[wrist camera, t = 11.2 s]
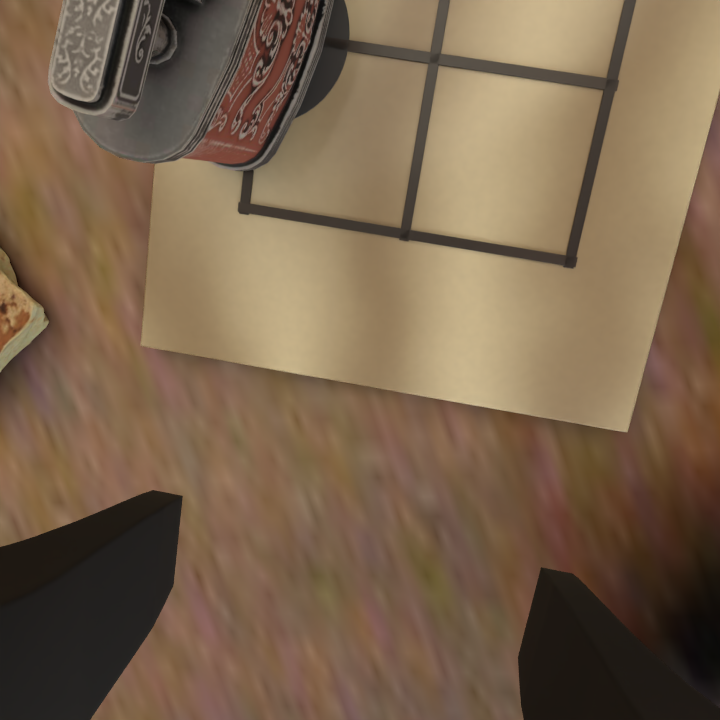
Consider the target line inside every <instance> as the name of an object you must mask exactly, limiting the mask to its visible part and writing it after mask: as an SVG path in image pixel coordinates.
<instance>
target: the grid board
mask: <svg viewBox="0 0 720 720" xmlns="http://www.w3.org/2000/svg"><path fill="white" fill-rule="evenodd" d="M719 92H720V0H334V3H333V7H332V11H331V15H330V19H329V23H328V27H327V32H326V36H325V40H324V44H323V48H322V52H321V55H320V57H319V60H318V62H317V65H316V68H315V70H314V73H313V75H312V78H311V81H310V83H309V86H308V88H307V91H306V94H305V96H304V99H303V101H302V104H301V106H300V108H299V110H298V112H297V114H296V116H295V118H294V120H293V122H292V124H291V125H290V127H289V129H288V131H287V133H286V135H285V137H284V139H283V141H282V143H281V145H280V146H279V148H278V150H277V152H276V154H275V155H274V156H273V157H272V159H271V160H270V161H269V162H268V163H267V164H265V165H263V166H261V167H259V168H257V169H255V170H248V171H233V170H228V169H223V168H218V167H217V166H215V165H213V164H211V163H209V162H208V161H202V160H193V159H185V158H181V159H179V160H177V161H172V162H165V163H158V164H154V176H153V189H152V202H151V216H150V229H149V242H148V255H147V269H146V282H145V295H144V308H143V322H142V335H141V346H143V347H149V348H155V349H160V350H166V351H171V352H177V353H183V354H188V355H194V356H199V357H205V358H211V359H216V360H222V361H227V362H233V363H239V364H244V365H250V366H255V367H261V368H267V369H272V370H278V371H284V372H289V373H295V374H300V375H306V376H312V377H317V378H323V379H328V380H334V381H340V382H345V383H351V384H356V385H362V386H368V387H373V388H379V389H384V390H390V391H396V392H401V393H407V394H413V395H418V396H424V397H429V398H435V399H441V400H446V401H452V402H457V403H463V404H469V405H474V406H480V407H485V408H491V409H497V410H502V411H508V412H514V413H519V414H525V415H530V416H536V417H542V418H547V419H553V420H558V421H564V422H570V423H575V424H581V425H586V426H592V427H598V428H603V429H609V430H614V431H620V432H627V431H628V429H629V425H630V421H631V418H632V414H633V410H634V406H635V403H636V399H637V395H638V392H639V388H640V384H641V381H642V377H643V373H644V369H645V366H646V362H647V358H648V355H649V351H650V347H651V344H652V340H653V336H654V333H655V329H656V325H657V321H658V318H659V314H660V310H661V307H662V303H663V299H664V296H665V292H666V288H667V285H668V281H669V277H670V273H671V270H672V266H673V262H674V259H675V255H676V251H677V248H678V244H679V240H680V236H681V233H682V229H683V225H684V222H685V218H686V214H687V211H688V207H689V203H690V200H691V196H692V192H693V188H694V185H695V181H696V177H697V174H698V170H699V166H700V163H701V159H702V155H703V151H704V148H705V144H706V140H707V137H708V133H709V129H710V126H711V122H712V118H713V115H714V111H715V107H716V103H717V100H718V96H719Z"/></svg>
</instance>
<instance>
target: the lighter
mask: <svg viewBox="0 0 720 720" xmlns="http://www.w3.org/2000/svg"><path fill="white" fill-rule="evenodd" d="M333 3H334V0H63V4H62V9H61V14H60V18H59V23H58V28H57V33H56V37H55V42H54V47H53V51H52V56H51V61H50V66H49V74H48V84H49V88H50V92H51V94H52V95H53V97H54V98H55V99H56V100H57V101H58V102H59V103H60V104H62V105H64V106H66V107H68V108H70V109H72V110H73V111H74V113H75V115H76V117H77V119H78V121H79V123H80V125H81V127H82V129H83V131H84V132H85V133H86V134H87V135H88V136H89V137H90V138H91V139H92V140H93V141H94V142H95V143H96V144H97V145H98V146H99V147H101V148H103V149H104V150H106V151H108V152H110V153H112V154H113V155H115V156H117V157H119V158H122V159H127V160H132V161H137V162H143V163H154V164H158V163H165V162H172V161H177V160H179V159H181V158H185V159H193V160H202V161H208V162H209V163H211V164H213V165H215V166H217V167H218V168H223V169H228V170H233V171H248V170H255V169H257V168H259V167H261V166H263V165H265V164H267V163H268V162H269V161H270V160H271V159H272V157H273V156H274V155H275V154H276V152H277V150H278V148H279V146H280V145H281V143H282V141H283V139H284V137H285V135H286V133H287V131H288V129H289V127H290V125H291V124H292V122H293V120H294V118H295V116H296V114H297V112H298V110H299V108H300V106H301V104H302V101H303V99H304V96H305V94H306V91H307V88H308V86H309V83H310V81H311V78H312V75H313V73H314V70H315V68H316V65H317V62H318V60H319V57H320V55H321V52H322V48H323V44H324V40H325V36H326V32H327V27H328V23H329V19H330V15H331V11H332V7H333Z"/></svg>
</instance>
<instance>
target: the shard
mask: <svg viewBox="0 0 720 720" xmlns="http://www.w3.org/2000/svg"><path fill="white" fill-rule="evenodd" d="M48 323H49V321H48V319H47V317H46V315H45V314H44V308H43V307H42V306H41V305H40V304H39V303H37V302H36V301H35V300H34V299H33V298H32V297H30V296H29V295H28V294H27V293H26V292H25V291H23V290H22V289H21V288H20V287H18V284H17V280H16V275H15V273H14V271H13V269H12V267H11V264H10V259H9V258H8V256H7V255H6V253H5V252H4V251H3V250H2V249H1V248H0V373H1V371H2V369H3V368H4V367H5V366H6V365H7V364H8V362H9V361H10V360H11V359H12V358H13V357H14V356H16V355H17V354H18V353H19V352H20V351H21V350H22V349H23V348H25V347H26V346H27V345H29V344H30V343H31V341H32V340H33V339H34V338H35V337H36V336H37V335H39V334H40V333H41V331H42V330H44V329H45V328H46V327H47V325H48Z"/></svg>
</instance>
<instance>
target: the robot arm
mask: <svg viewBox="0 0 720 720" xmlns="http://www.w3.org/2000/svg"><path fill="white" fill-rule="evenodd" d="M182 497H183V496H180V495H175V494H170V493H165V492H160V491H155V490H153V491H149V492H146V493H143V494H141V495H138V496H136V497H133V498H131V499H128V500H126V501H124V502H121V503H119V504H117V505H114V506H112V507H110V508H107V509H105V510H102V511H100V512H98V513H95V514H93V515H90V516H88V517H86V518H83V519H81V520H78V521H76V522H73V523H71V524H68V525H65V526H62V527H60V528H57V529H54V530H52V531H49V532H46V533H43V534H41V535H38V536H35V537H32V538H29V539H26V540H23V541H20V542H17V543H13V544H10V545H6V546H3V547H0V720H90V719H91V718H92V716H93V715H94V713H95V712H96V710H97V709H98V707H99V706H100V704H101V703H102V701H103V700H104V699H105V697H106V696H107V694H108V693H109V691H110V690H111V688H112V687H113V685H114V684H115V682H116V681H117V680H118V678H119V677H120V675H121V674H122V672H123V671H124V669H125V668H126V666H127V665H128V663H129V662H130V661H131V659H132V658H133V656H134V655H135V653H136V652H137V650H138V649H139V647H140V646H141V644H142V643H143V641H144V640H145V638H146V637H147V635H148V634H149V632H150V631H151V629H152V628H153V626H154V624H155V622H156V620H157V618H158V616H159V614H160V612H161V610H162V608H163V606H164V604H165V602H166V600H167V598H168V595H169V593H170V591H171V589H172V587H173V584H174V574H175V564H176V555H177V545H178V535H179V526H180V516H181V506H182ZM518 664H519V682H520V695H521V707H522V712H523V717H524V720H720V708H719V707H717V706H716V705H715V704H713V703H712V702H711V701H710V700H708V699H707V698H706V697H704V696H703V695H702V694H701V693H699V692H698V691H697V690H695V689H694V688H693V687H691V686H690V685H689V684H688V683H687V682H685V681H684V680H683V679H682V678H680V677H679V676H678V675H677V674H676V673H675V672H673V671H672V670H671V669H670V668H669V667H668V666H667V665H666V664H665V663H663V662H662V661H661V660H660V659H659V658H658V657H657V656H656V655H654V654H653V653H652V652H651V651H650V650H649V649H648V648H647V647H646V646H645V645H644V644H643V643H642V642H641V641H640V640H639V639H638V638H636V637H635V636H634V635H633V634H632V633H631V632H630V631H629V630H628V629H627V628H626V627H625V626H624V625H623V624H622V623H621V622H620V621H619V620H618V619H617V617H616V616H615V615H614V614H613V613H612V612H611V611H610V610H609V609H608V608H607V607H606V606H605V605H604V604H603V603H602V602H601V601H600V600H599V599H598V598H597V597H596V596H595V595H594V594H593V593H592V592H591V591H590V590H589V589H588V587H587V586H586V585H585V584H583V583H582V582H581V581H580V580H579V579H578V578H577V577H576V576H575V575H574V574H572V573H566V572H561V571H556V570H551V569H546V568H541V570H540V574H539V578H538V582H537V586H536V590H535V593H534V597H533V601H532V605H531V609H530V613H529V617H528V621H527V624H526V628H525V632H524V636H523V640H522V644H521V648H520V652H519V656H518Z"/></svg>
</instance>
